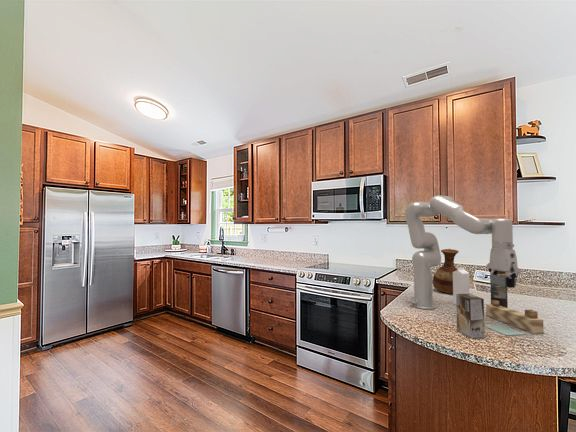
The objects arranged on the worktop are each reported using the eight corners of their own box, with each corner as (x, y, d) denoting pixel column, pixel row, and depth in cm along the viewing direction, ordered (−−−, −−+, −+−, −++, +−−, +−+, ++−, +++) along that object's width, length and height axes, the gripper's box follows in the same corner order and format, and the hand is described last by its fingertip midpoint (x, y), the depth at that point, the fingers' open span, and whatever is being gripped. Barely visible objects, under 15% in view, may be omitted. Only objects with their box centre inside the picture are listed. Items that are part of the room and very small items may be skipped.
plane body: (544, 333, 120) (543, 312, 121) (533, 334, 120) (532, 313, 120) (495, 315, 144) (495, 298, 144) (486, 316, 143) (485, 298, 144)
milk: (469, 305, 162) (469, 267, 163) (462, 307, 160) (462, 268, 160) (459, 303, 168) (459, 266, 168) (452, 304, 165) (452, 266, 166)
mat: (506, 335, 118) (506, 334, 118) (483, 325, 130) (483, 324, 130) (525, 334, 119) (525, 333, 119) (500, 324, 131) (500, 323, 131)
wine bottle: (487, 312, 150) (486, 256, 151) (496, 310, 152) (495, 255, 153) (502, 316, 143) (501, 257, 144) (510, 314, 146) (509, 256, 147)
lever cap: (501, 282, 130) (501, 272, 130) (516, 285, 123) (516, 275, 123) (490, 282, 129) (490, 273, 129) (504, 286, 122) (504, 275, 122)
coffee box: (485, 338, 116) (485, 298, 116) (471, 338, 115) (470, 299, 116) (469, 329, 125) (468, 293, 125) (455, 330, 124) (455, 293, 125)
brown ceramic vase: (434, 293, 190) (433, 249, 191) (431, 287, 208) (430, 247, 209) (468, 296, 182) (467, 250, 183) (462, 290, 201) (461, 248, 202)
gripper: (528, 247, 118) (529, 289, 118) (492, 244, 135) (493, 281, 135) (513, 247, 117) (513, 290, 116) (478, 244, 134) (479, 281, 134)
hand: (502, 285), depth 126 cm, fingers closed on lever cap, 7 cm apart
